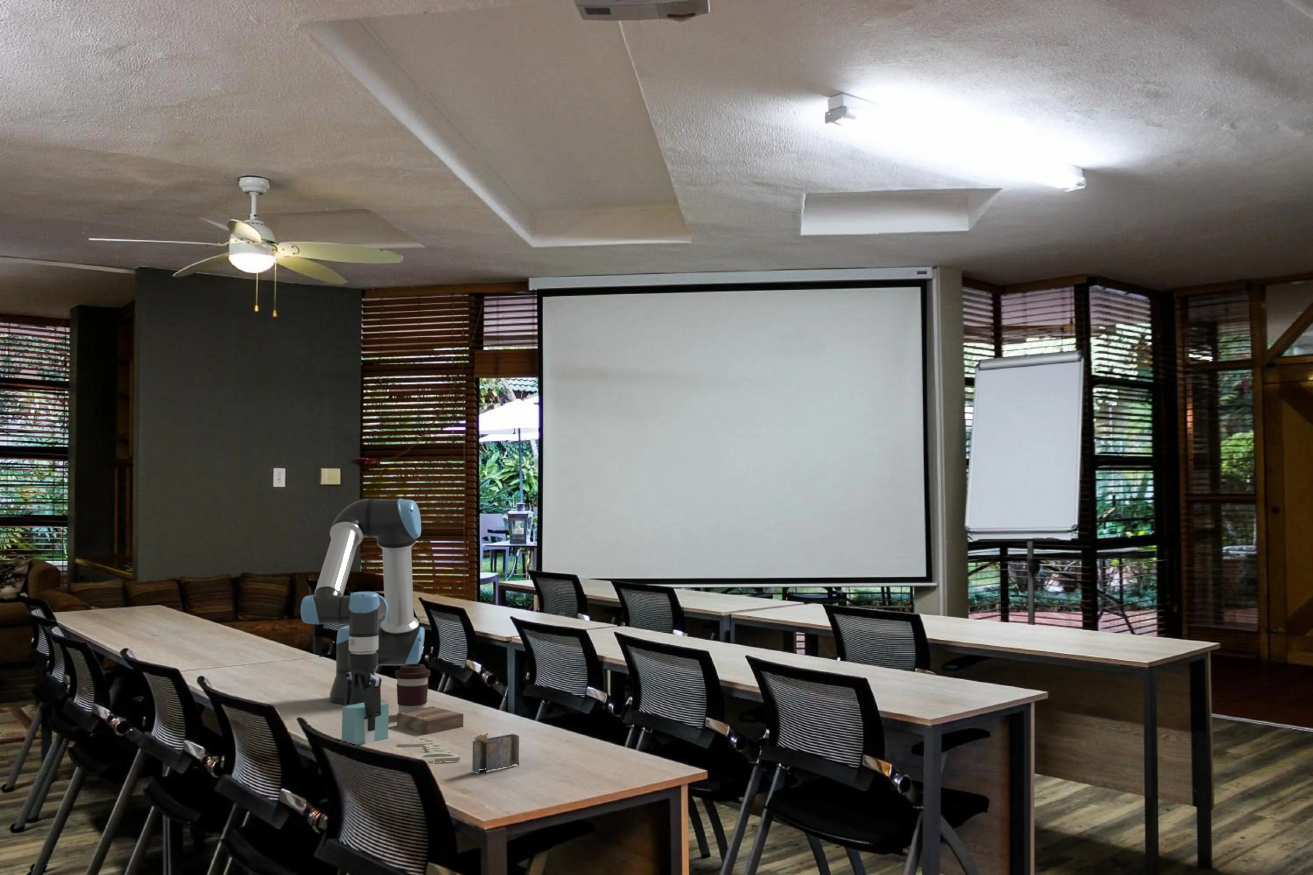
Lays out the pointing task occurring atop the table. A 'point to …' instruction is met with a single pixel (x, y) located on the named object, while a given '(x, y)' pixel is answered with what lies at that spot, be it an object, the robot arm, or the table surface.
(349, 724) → the light teal block
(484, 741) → the rusty metal bracket
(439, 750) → the decorative sign
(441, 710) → the brown block
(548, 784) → the table surface
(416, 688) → the coffee cup
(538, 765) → the table surface
